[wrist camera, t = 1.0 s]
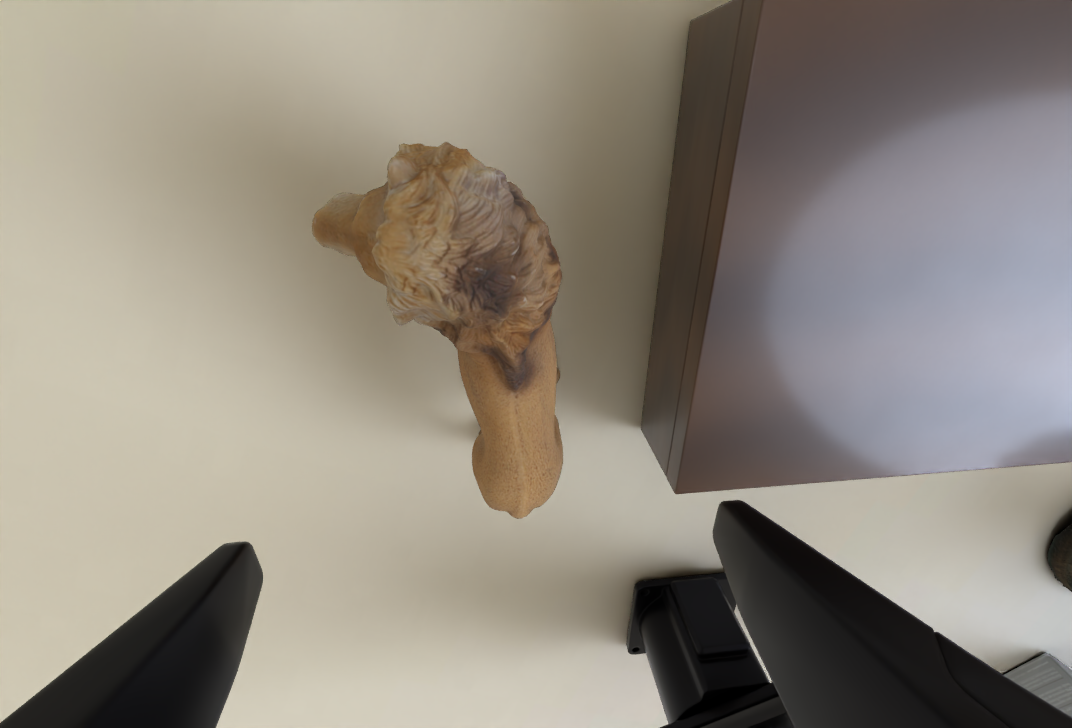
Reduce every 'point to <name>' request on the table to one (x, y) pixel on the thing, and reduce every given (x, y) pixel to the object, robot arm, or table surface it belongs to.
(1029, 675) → the cosmetic box
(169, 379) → the table surface
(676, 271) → the shelf
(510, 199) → the lion figurine
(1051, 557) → the owl figurine
